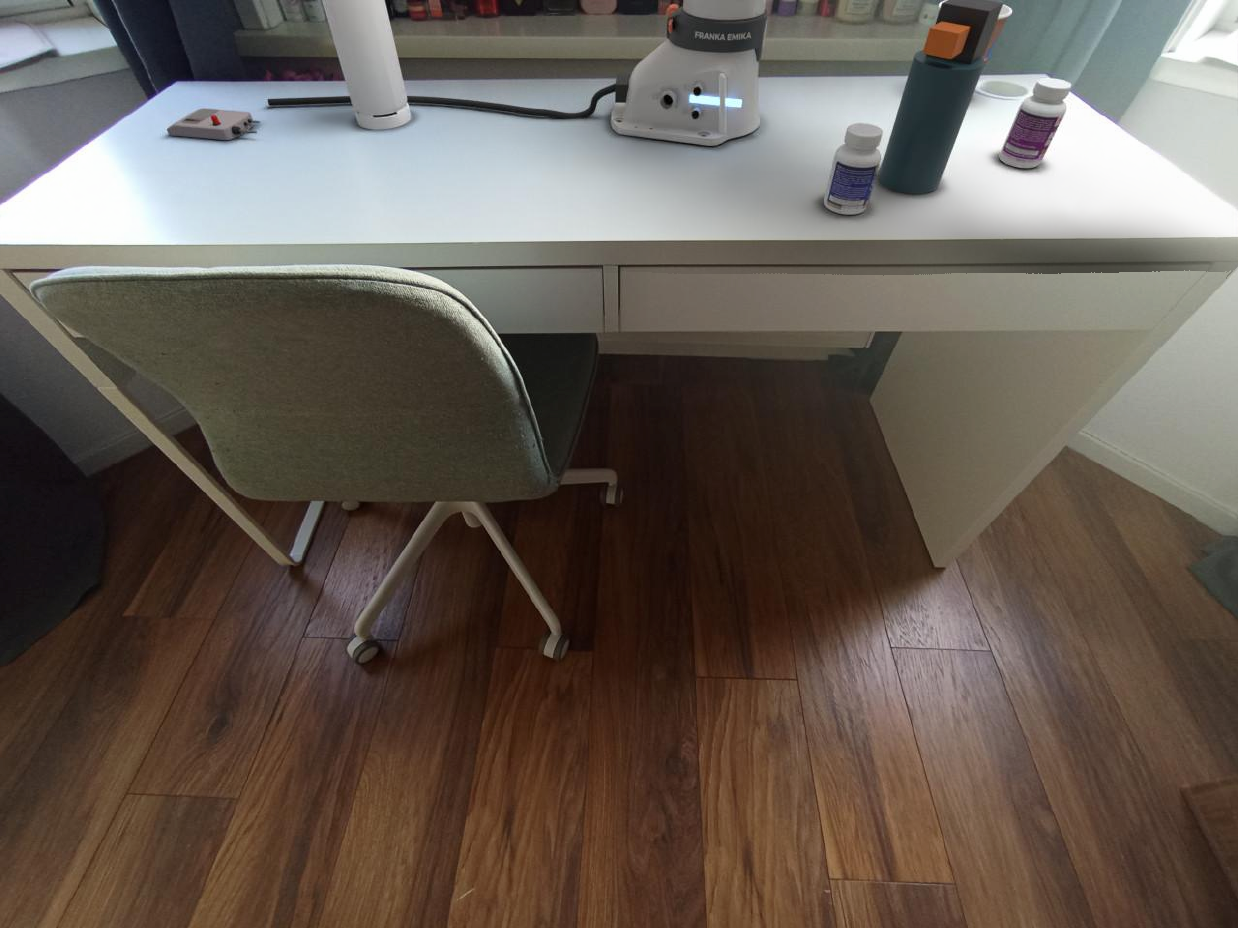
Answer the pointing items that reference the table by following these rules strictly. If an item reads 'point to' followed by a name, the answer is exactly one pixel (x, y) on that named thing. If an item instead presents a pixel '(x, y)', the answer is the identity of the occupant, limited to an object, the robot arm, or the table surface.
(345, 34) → the bottle
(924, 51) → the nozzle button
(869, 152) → the pill bottle
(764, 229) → the table surface
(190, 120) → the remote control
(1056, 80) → the pill bottle
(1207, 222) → the table surface
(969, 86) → the sports bottle
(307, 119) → the table surface
